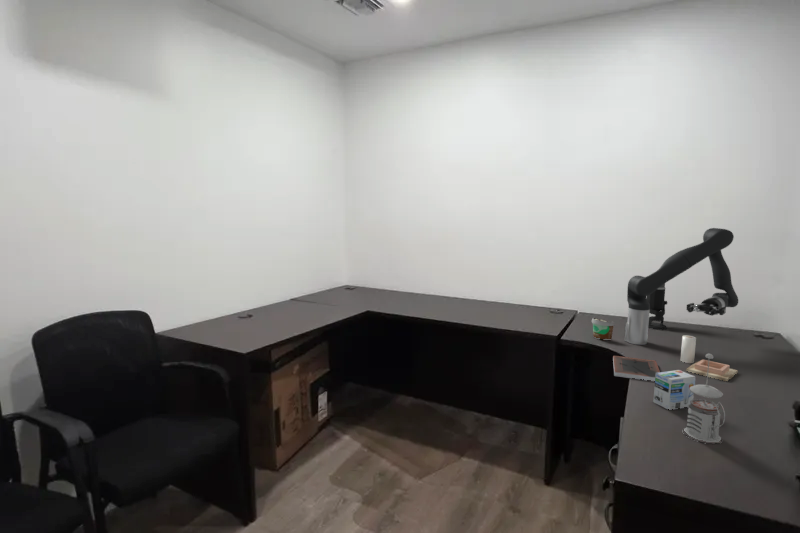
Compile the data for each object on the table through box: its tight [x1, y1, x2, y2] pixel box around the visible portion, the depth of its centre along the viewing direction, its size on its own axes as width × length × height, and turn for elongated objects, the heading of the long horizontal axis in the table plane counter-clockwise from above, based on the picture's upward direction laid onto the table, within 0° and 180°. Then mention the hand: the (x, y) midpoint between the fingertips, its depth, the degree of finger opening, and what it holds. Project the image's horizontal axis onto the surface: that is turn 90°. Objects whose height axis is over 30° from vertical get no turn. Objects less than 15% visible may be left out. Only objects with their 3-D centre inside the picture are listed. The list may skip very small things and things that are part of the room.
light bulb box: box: [653, 369, 696, 411], centre depth 150 cm, size 11×7×11 cm, turn 106°
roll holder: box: [685, 358, 739, 382], centre depth 180 cm, size 14×14×3 cm
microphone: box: [646, 283, 668, 330], centre depth 247 cm, size 13×12×30 cm
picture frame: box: [612, 355, 661, 382], centre depth 183 cm, size 16×2×22 cm
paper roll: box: [680, 335, 697, 364], centre depth 192 cm, size 5×5×11 cm
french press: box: [683, 353, 726, 442], centre depth 128 cm, size 10×12×25 cm
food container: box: [591, 316, 616, 340], centre depth 226 cm, size 12×6×10 cm, turn 25°
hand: (700, 311), depth 198 cm, fingers open, 8 cm apart
